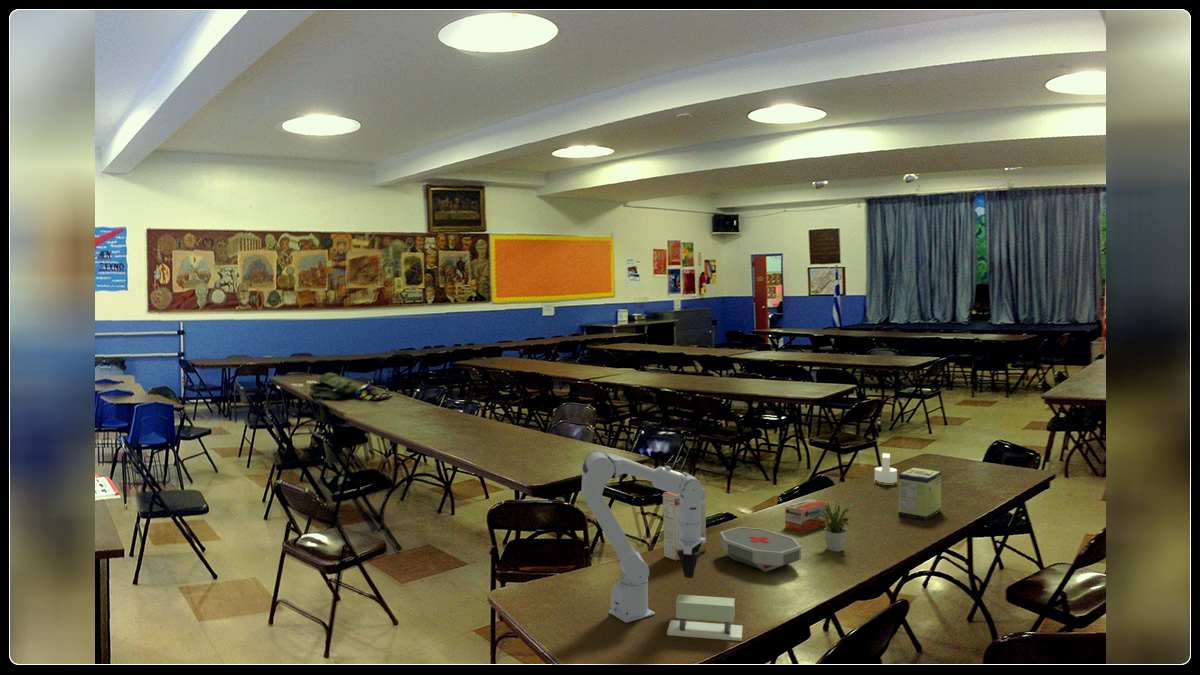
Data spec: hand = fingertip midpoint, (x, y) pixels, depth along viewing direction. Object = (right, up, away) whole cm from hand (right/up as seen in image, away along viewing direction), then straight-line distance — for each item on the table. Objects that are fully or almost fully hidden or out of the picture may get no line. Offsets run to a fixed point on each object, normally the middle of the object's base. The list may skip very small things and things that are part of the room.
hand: (690, 572), depth 210 cm
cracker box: (+3, -7, +43) cm, 44 cm away
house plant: (+51, -7, +47) cm, 70 cm away
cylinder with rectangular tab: (+99, -1, +131) cm, 164 cm away
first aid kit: (+25, -8, +35) cm, 44 cm away
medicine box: (+50, -5, +72) cm, 87 cm away
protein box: (+95, -4, +85) cm, 128 cm away
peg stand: (+2, -11, -14) cm, 17 cm away
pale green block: (+2, -7, -14) cm, 15 cm away
